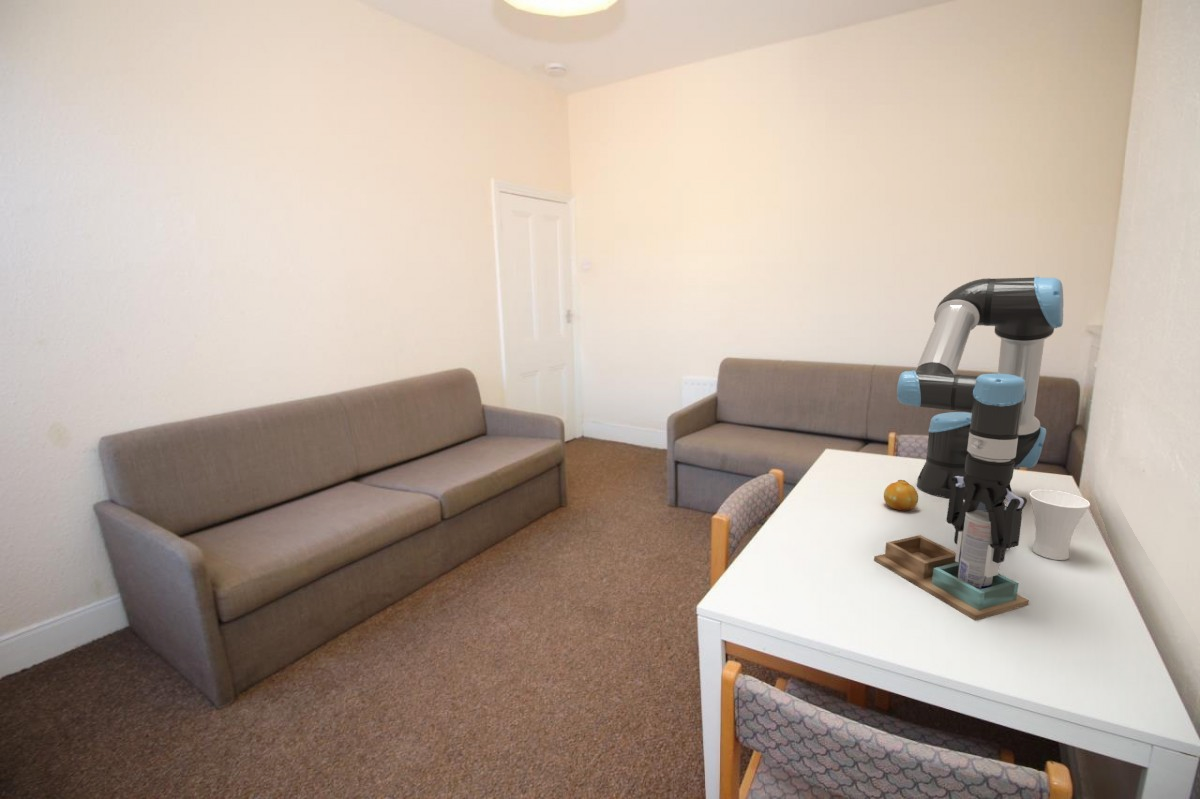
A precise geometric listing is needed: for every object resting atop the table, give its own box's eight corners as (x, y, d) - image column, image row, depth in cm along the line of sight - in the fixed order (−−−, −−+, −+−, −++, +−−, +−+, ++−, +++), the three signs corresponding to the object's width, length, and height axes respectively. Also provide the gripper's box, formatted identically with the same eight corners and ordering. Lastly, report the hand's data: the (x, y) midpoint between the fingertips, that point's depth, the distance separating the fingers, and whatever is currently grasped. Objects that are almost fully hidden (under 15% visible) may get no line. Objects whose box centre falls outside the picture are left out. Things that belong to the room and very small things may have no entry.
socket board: (874, 560, 124) (875, 542, 123) (921, 549, 128) (923, 531, 127) (975, 620, 101) (978, 598, 100) (1028, 604, 106) (1031, 583, 105)
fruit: (903, 491, 156) (896, 471, 153) (928, 504, 149) (921, 483, 145) (882, 508, 155) (874, 488, 152) (905, 522, 148) (898, 501, 144)
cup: (1031, 561, 121) (1039, 504, 118) (1014, 540, 131) (1022, 487, 128) (1089, 568, 118) (1100, 510, 115) (1068, 546, 127) (1077, 492, 124)
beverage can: (996, 594, 105) (1006, 522, 102) (964, 591, 106) (973, 520, 103) (982, 578, 110) (992, 510, 107) (952, 576, 112) (960, 508, 108)
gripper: (932, 445, 110) (921, 550, 115) (1027, 474, 93) (1009, 596, 98) (959, 440, 112) (947, 544, 117) (1057, 468, 95) (1038, 587, 100)
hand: (975, 567), depth 108 cm, fingers closed on beverage can, 5 cm apart
